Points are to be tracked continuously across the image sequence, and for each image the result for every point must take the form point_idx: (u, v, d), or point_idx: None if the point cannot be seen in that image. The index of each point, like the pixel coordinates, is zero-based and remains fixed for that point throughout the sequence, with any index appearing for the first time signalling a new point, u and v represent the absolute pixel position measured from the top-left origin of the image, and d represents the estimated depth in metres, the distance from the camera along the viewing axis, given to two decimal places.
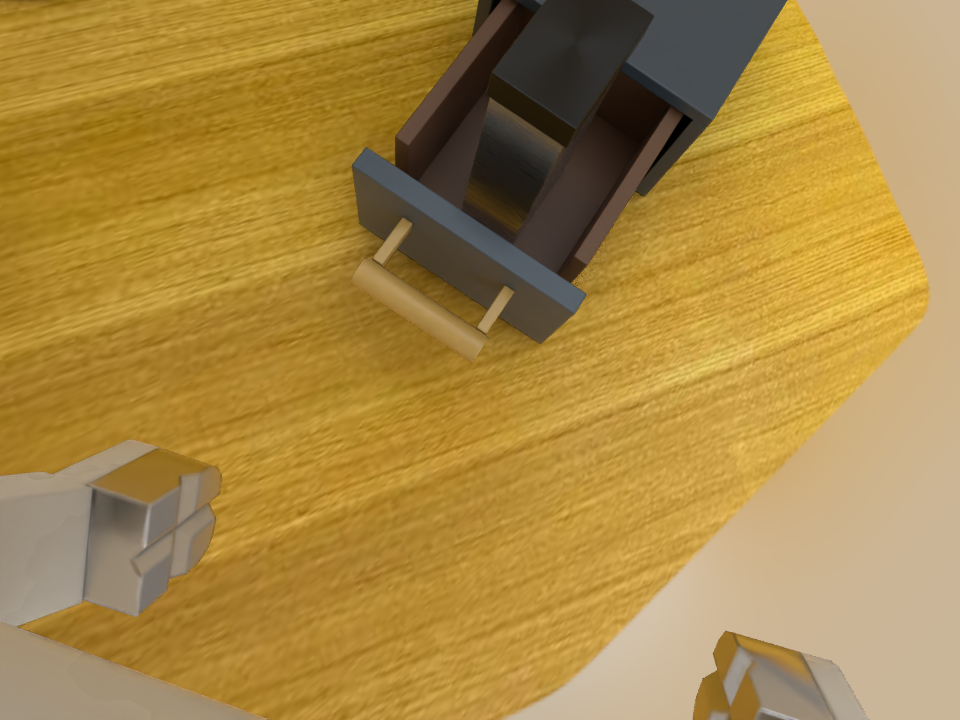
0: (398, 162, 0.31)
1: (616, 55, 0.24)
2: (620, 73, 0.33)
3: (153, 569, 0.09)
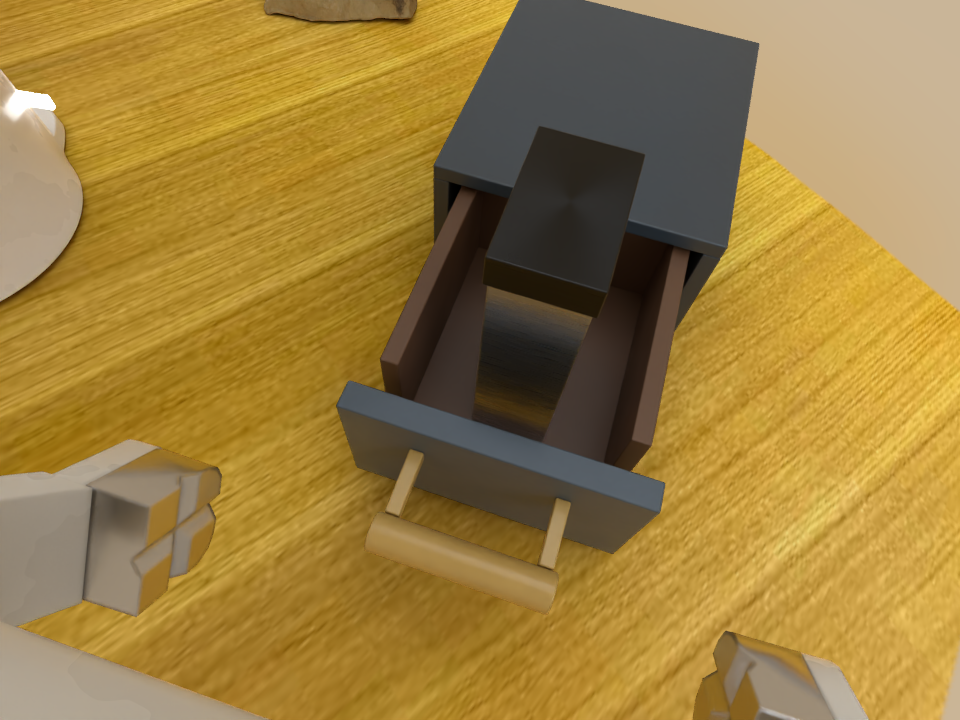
0: (388, 386, 0.26)
1: (621, 202, 0.20)
2: None
3: (153, 569, 0.09)
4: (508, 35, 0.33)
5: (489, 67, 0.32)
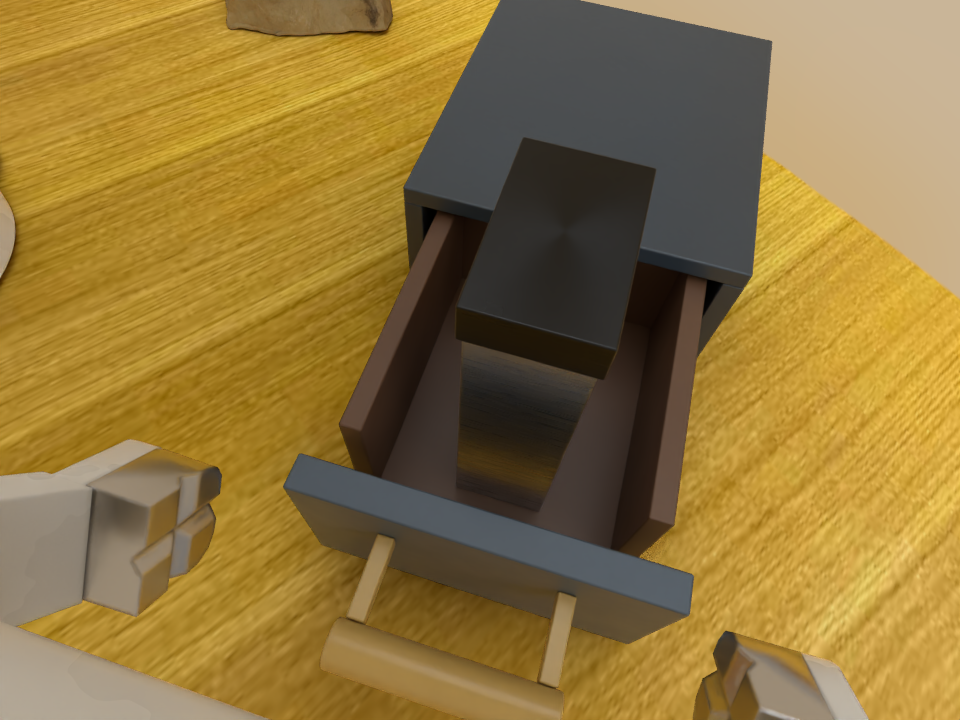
0: (353, 452, 0.22)
1: (629, 230, 0.16)
2: None
3: (153, 569, 0.09)
4: (489, 39, 0.29)
5: (467, 74, 0.28)
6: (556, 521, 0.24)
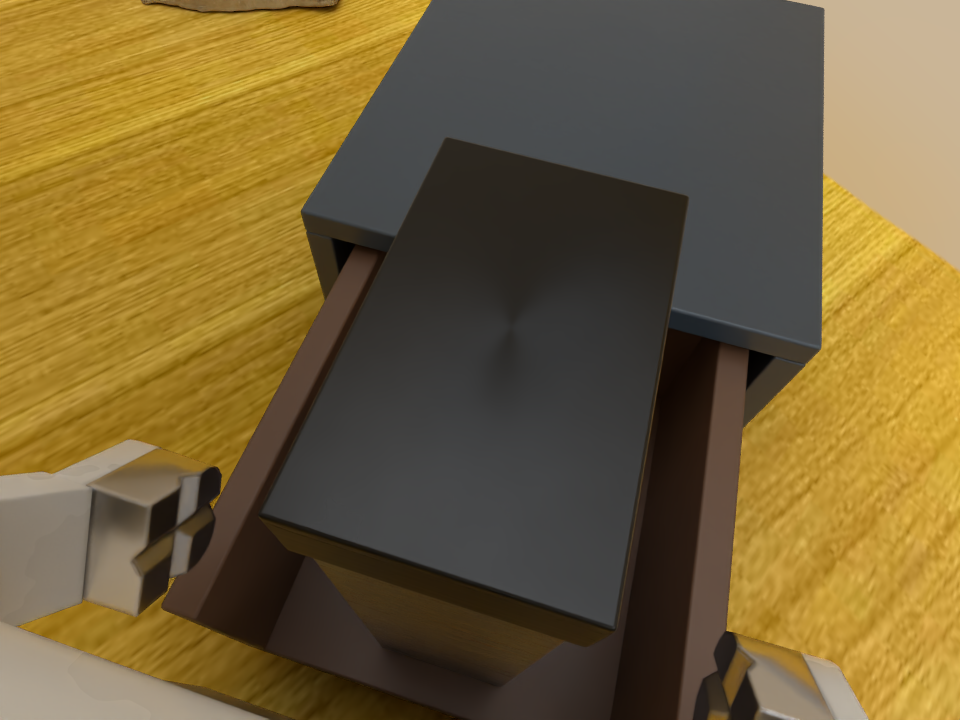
0: (206, 627, 0.14)
1: (640, 324, 0.08)
2: None
3: (153, 569, 0.09)
4: (442, 3, 0.22)
5: (408, 50, 0.20)
6: (526, 702, 0.16)
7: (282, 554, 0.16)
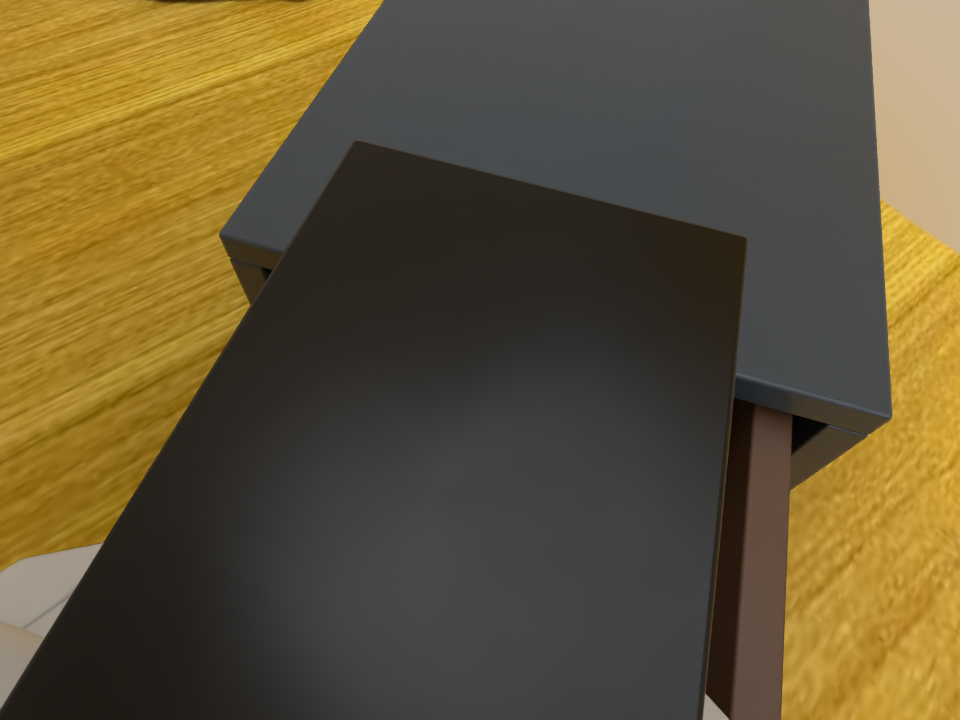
0: None
1: (676, 485, 0.04)
2: None
3: None
4: None
5: (369, 34, 0.17)
6: None
7: None
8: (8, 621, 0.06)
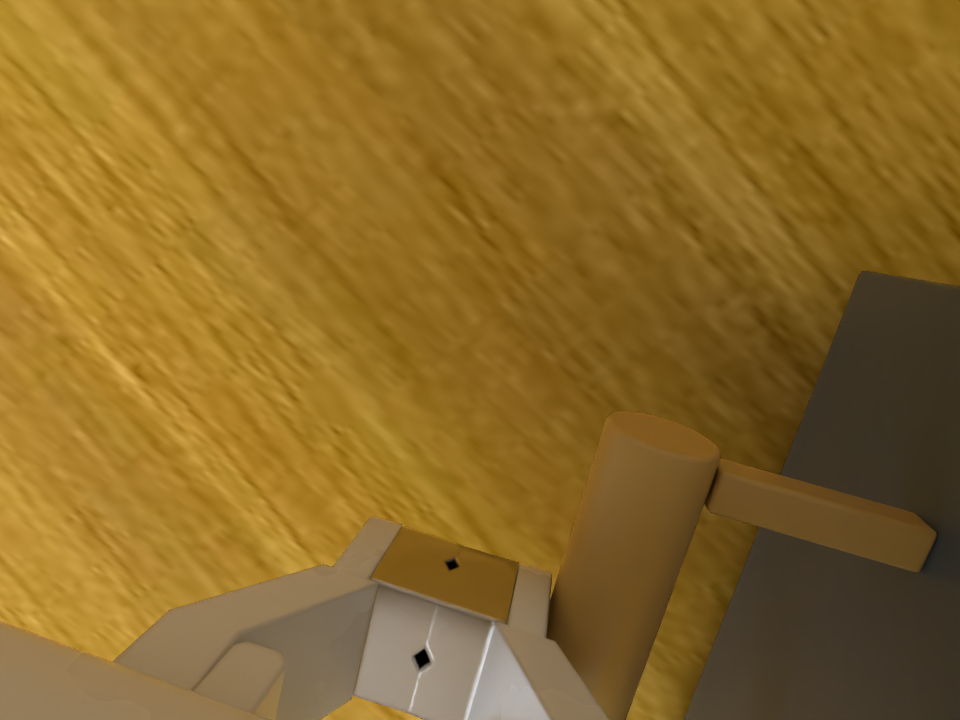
0: None
1: None
2: None
3: None
4: None
5: None
6: None
7: None
8: (175, 681, 0.06)
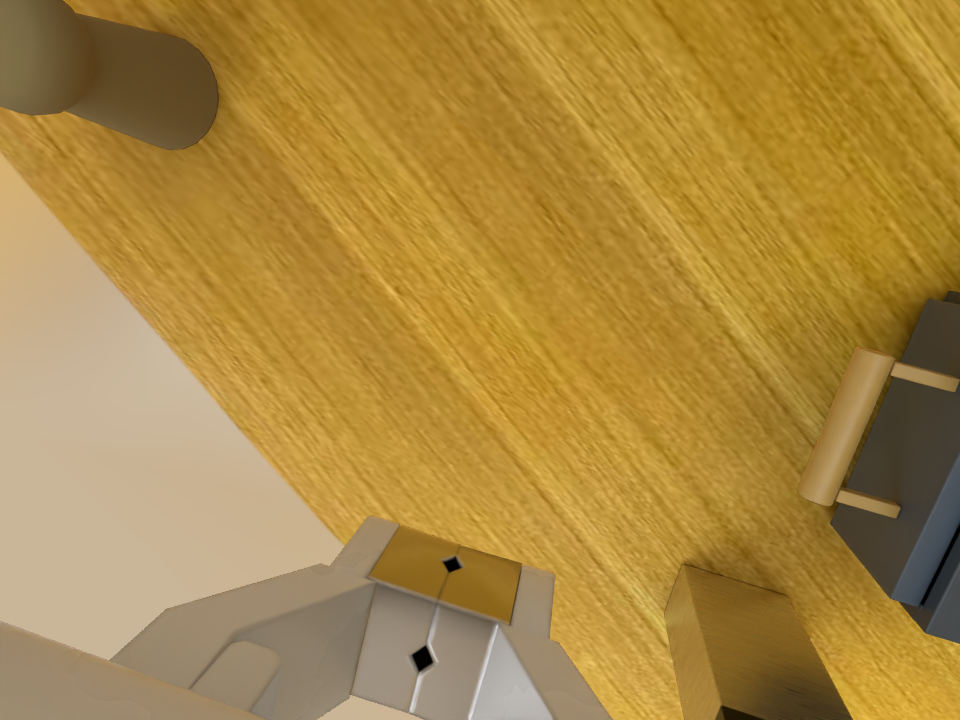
0: None
1: None
2: None
3: (422, 661, 0.08)
4: None
5: None
6: None
7: None
8: (171, 680, 0.06)
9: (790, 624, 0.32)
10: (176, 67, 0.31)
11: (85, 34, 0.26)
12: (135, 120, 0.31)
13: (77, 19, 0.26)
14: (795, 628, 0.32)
